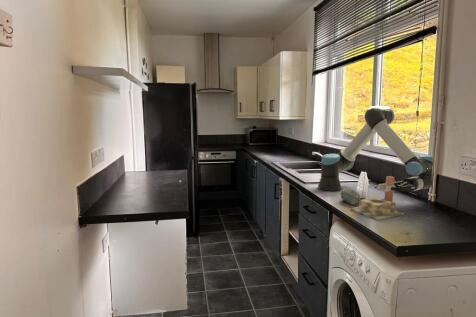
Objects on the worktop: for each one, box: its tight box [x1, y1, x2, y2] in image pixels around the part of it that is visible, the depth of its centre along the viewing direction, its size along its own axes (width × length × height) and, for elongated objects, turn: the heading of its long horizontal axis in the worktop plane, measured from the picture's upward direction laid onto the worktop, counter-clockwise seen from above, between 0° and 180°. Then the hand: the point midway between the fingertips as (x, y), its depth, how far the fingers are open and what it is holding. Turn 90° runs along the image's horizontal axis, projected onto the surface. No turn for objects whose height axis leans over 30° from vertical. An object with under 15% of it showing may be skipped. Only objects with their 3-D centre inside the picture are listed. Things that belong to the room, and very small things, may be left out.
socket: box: [350, 196, 405, 221], centre depth 166 cm, size 18×18×6 cm
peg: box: [384, 175, 395, 202], centre depth 174 cm, size 4×4×14 cm
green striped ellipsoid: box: [340, 187, 361, 206], centre depth 185 cm, size 14×10×10 cm
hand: (382, 188), depth 172 cm, fingers closed on peg, 4 cm apart
